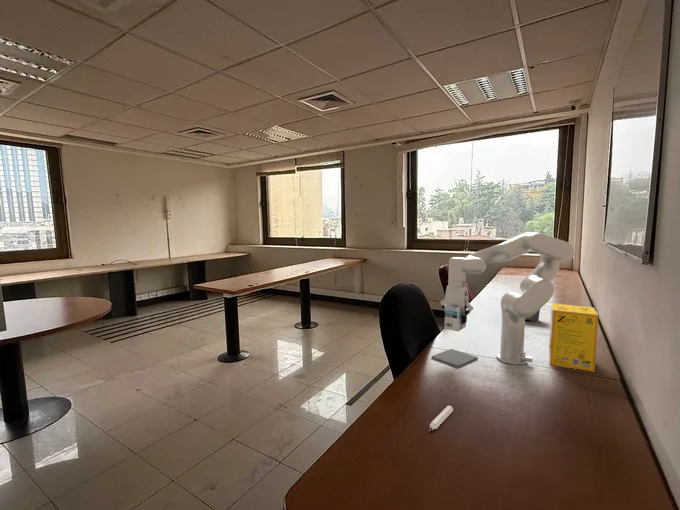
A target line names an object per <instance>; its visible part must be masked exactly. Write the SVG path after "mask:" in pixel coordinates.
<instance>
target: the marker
mask: <svg viewBox="0 0 680 510" xmlns="http://www.w3.org/2000/svg"><path fill="white" fill-rule="evenodd" d="M453 411H454V408H453V406H451V405H448V404H447V406H446V407H445V408H444V409H443V410H442V411H441V412H440V413H439V414H438V415H437V416H436V417H434V419H433V420H432V421H431V422H430V424H429V428H428V432H430V431H434V429H436V430H437V429H438V428H439V427H440V426H441V425H442V424H443V422H445V420H446V419H447V418H448V417H449V416H450V415H451V414H452V412H453ZM440 424H441V425H440Z"/></svg>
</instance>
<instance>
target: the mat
mask: <svg viewBox="0 0 680 510" xmlns="http://www.w3.org/2000/svg"><path fill="white" fill-rule="evenodd" d="M431 359H433V360H436V361H438V362H440V363H444V364H446V365H448V364H449V365H448V366H451V367H454V368H456V369H457V368H458V369H459V368H461V367H464V366H466V365H468V364H471V363H473V362H474V361H477V360H478V359H479V357H478V356H475V355H472V354H469V353H466V352H463V351H459V350H457V349H454V348H450V349H446V350H445V351H441V352H439V353H436V354H433V355H432V356H431Z"/></svg>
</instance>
